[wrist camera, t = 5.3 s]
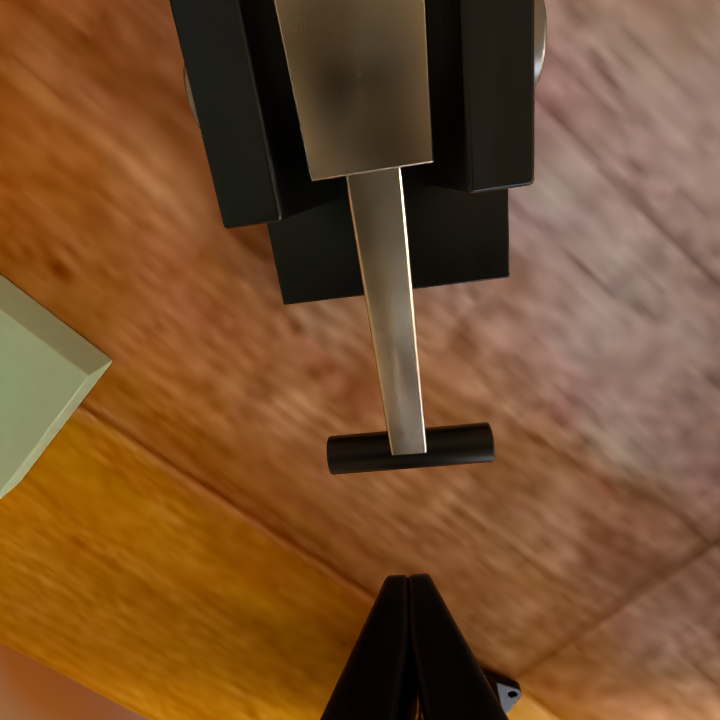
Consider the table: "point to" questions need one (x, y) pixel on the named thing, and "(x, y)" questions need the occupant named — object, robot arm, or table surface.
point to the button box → (37, 380)
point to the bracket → (421, 182)
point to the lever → (375, 199)
